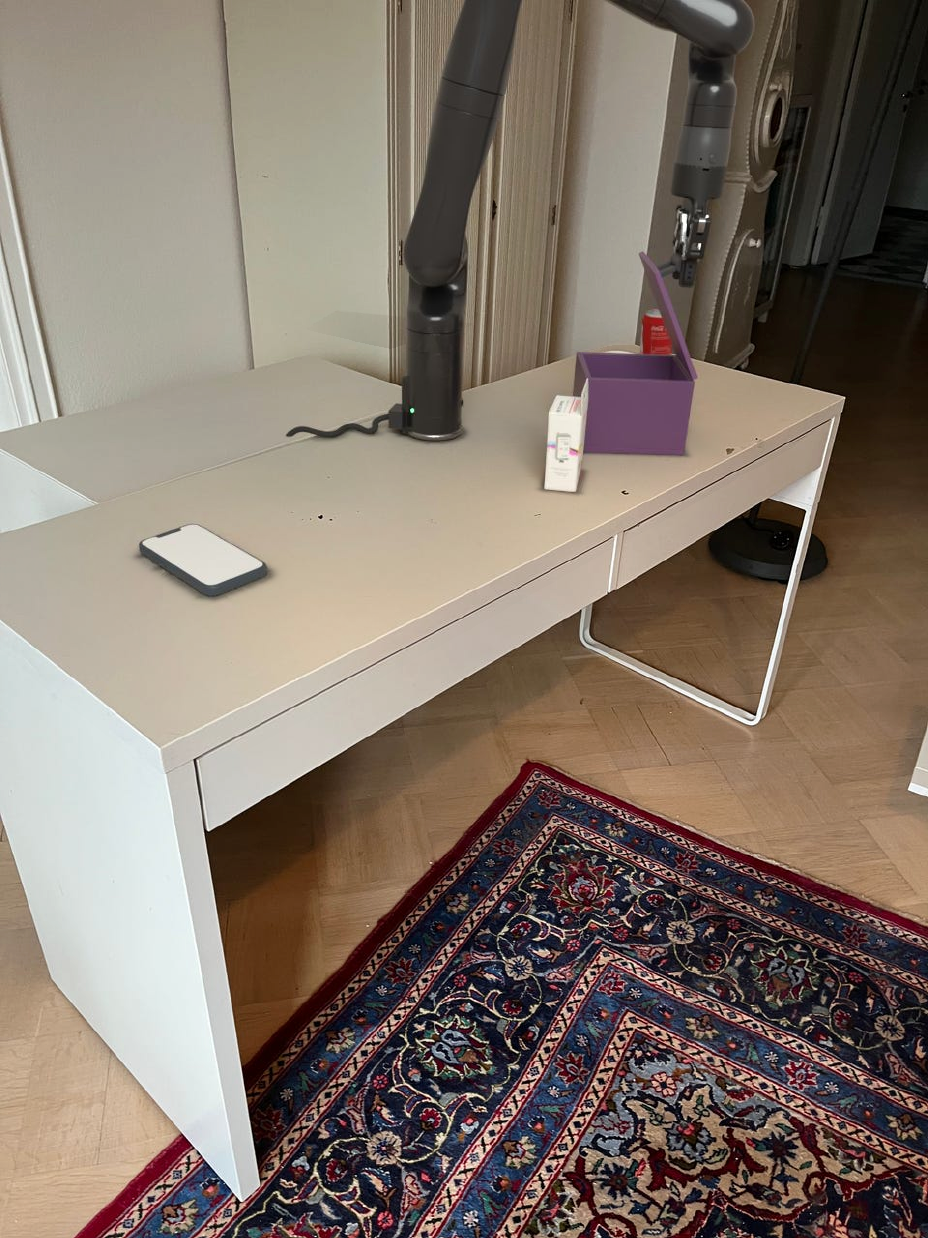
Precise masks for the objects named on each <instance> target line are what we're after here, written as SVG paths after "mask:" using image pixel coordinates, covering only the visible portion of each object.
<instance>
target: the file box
mask: <svg viewBox="0 0 928 1238" xmlns="http://www.w3.org/2000/svg"><path fill="white" fill-rule="evenodd" d="M575 357H576V358H575V367H574V378H573V389H572V391H573V392H572V397H581V393H582V391H583V388H584V385H585V382H586V380H587V378H588V407H587V417H586V427H585V437H584V447H583V453H595V454H596V453H598V454H628V455H629V454H631V455H633V454H634V455H662V456H663V455H665V456H684V455H685V449H686V445H687V436H688V431H689V424H690V418H691V411H692V410H691V409H692V405H693V397H694V393H695V392H694V391H695V386H696V385H695V384H696V382H695V380H693V379H692V378H691V376H690V375H689V373H688V372H687V370H686V369H685V367H684V366H683V364H682V363H681V361H680V360H679V358H678V357H677V355H676V354H671V355H660V354H639V353H621V352H592V351H591V352H590V351H589V352H587V351H576V356H575ZM584 398H585V396H584Z"/></svg>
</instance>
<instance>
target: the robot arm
mask: <svg viewBox="0 0 928 1238" xmlns="http://www.w3.org/2000/svg"><path fill="white" fill-rule="evenodd" d="M604 1H605V2H607V3H608V4H610V5H611V6H613V7H615V8H617V9H618V10H621V11H622V12H624V13H626V14H628V15H630V16H632V17H633V18H634V19H637V20H639V21H641V22H643V23H645V24H647V25H649V26H651V27H653V28H655V29H657V30H661V31H663V32H664V31H665V32H670V33H673V34H676V35H677V36H679V37H681V38H682V39H685V40H686V41H688V51H687V52H688V54H687V56H688V57H687V91H686V94H685V95H686V96H685V100H684V106H683V114H682V120H681V128H680V132H679V135H678V139H677V144H676V149H675V150H676V151H675V155H674V156H675V158H674V163H673V172H672V176H671V177H672V179H671V186H670V194H671V195H672V196H674V197H677V198H681V199H682V198H683V199H682V203H681V204H677V205H676V206H675V217H674V218H675V219H674V226H673V235H672V242H671V243H672V247H673V254H674V253H680V254H681V255H682V260H683V261H682V265H681V271H680V272H678V271H675V272H673V273H671V277H672V278H673V280H678V286H679V287H681V288H688V289H690V288H693V287H694V286H695V281H696V275H697V269H698V262H700V260H703V259H704V257H705V251H706V247H707V242H708V236H709V232H710V227H711V225H712V218H711V217H710V212H708V211H707V209H708V201H710V200H718V199H720V198H721V197H722V196H723V192H724V187H725V182H726V175H727V169H728V164H729V163H728V162H729V158H730V152H731V142H732V129H733V123H734V117H735V112H736V111H735V110H736V106H737V97H738V88H737V84H736V82H735V79H734V75H735V65H736V60H737V59H736V58H737V55H738V54H739V53H741V52H742V51H743V50H745V49H746V47H747V46H748V45H749V43H750V42H751V40H752V37H753V35H754V32H755V16H754V13H753V10H752V8H751V7H750V5H749V4H748V3H747V2H746V1H745V0H604ZM522 4H523V0H463V3H462V6H461V9H460V11H459V15H458V17H457V21H456V23H455V26H454V29H453V32H452V35H451V38H450V40H449V44H448V48H447V50H446V53H445V57H444V62H443V65H442V69H441V72H440V78H439V82H438V86H437V92H436V97H435V102H434V107H433V112H432V119H431V125H430V130H429V136H428V143H427V150H426V158H425V168H424V174H423V180H422V185H421V187H420V188H421V189H420V192H419V196H418V198H417V199H418V200H417V202H416V206H415V210H414V213H413V216H412V219H411V222H410V225H409V228H408V230H407V234H406V236H405V239H404V242H403V246H402V261H403V264H404V268H405V270H406V272H407V273H408V289H407V291H408V292H407V301H406V307H405V374H404V375H403V376H402V377H401V403H395V404H394V405H392V407H391V408H389V409H388V411H387V412H388V413H385V414H381V415H378V416H377V417H375V418H374V419H373V420H372V424H371V426H372V427H365V426H363V425H361V424H359V423H357V422H356V423H355V422H350V423H344V424H343V425H341V426H340V427H338V428H337V429H335V430H331V431H329V430H327V431H326V430H321V429H317V428H314V427H310V426H306V425H299V426H296V427H295V426H294V427H293V428H291V429H290V430H289V431H288V432H286V434H285V437H287V438H291V437H293V436H295V435H296V434H298V433H308V434H311V435H314V436H318V437H323V438H334V437H338V436H340V435H343V433H344V432H346V431H348V430H357V431H359V432H361V433H363V434H366V435H372V434H375V433H377V431H378V429H379V424H380V423H381V422H384V421H388V422H387V423H388V424H387V425H388V429H391V430H400V431H401V434H402V435H406V436H409V437H411V438H414V439H417V440H422V441H428V442H429V441H431V442H438V441H439V442H440V441H441V442H442V441H448V440H452V439H455V438H458V437H459V436H461V435H462V433H463V432H462V431H463V425H462V423H463V421H462V420H463V417H462V416H463V414H462V412H463V407H464V399H463V383H464V380H463V379H464V345H465V343H464V341H465V340H464V339H465V319H466V318H465V315H466V309H467V308H466V307H467V293H468V292H467V289H468V272H469V271H468V270H469V269H468V268H469V267H468V265H469V245H468V238H467V235H466V231H467V224H468V218H469V212H470V207H471V204H472V203H471V202H472V198H473V196H474V195H473V194H474V192H475V189H476V185H477V183H478V181H479V179H480V176H481V173H482V171H483V168H484V166H485V164H486V161H487V158H488V155H489V152H490V150H491V147H492V144H493V142H494V138H495V135H496V131H497V128H498V125H499V121H500V118H501V115H502V110H503V105H504V102H505V97H506V96H505V95H506V93H507V88H508V82H509V79H510V74H511V67H512V62H513V56H514V50H515V44H516V38H517V37H516V36H517V29H518V24H519V23H518V22H519V17H520V11H521V8H522ZM693 246H695V249H693Z"/></svg>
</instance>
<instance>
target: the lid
mask: <svg viewBox="0 0 928 1238" xmlns="http://www.w3.org/2000/svg"><path fill="white" fill-rule="evenodd" d="M638 256H639V260H640V262H641V265H642V267H643V270H644V273H645V275H646V278H647V281H648V284H649V287H650V289H651V292H652V294H653V297H654V300H655V303H656V306H657V309H659V311H660V314H661V317H662V319H663V322H664V325H665V328H666V330H667V333H668V336H669V339H670V341H671V344H672V347H671V348H672V349H673V352H674V355H677V357H678V358H679V360H680V361H681V363H682V364H683V366H684V367H685V369H686V370H687V372H688V373H689V375H690V376H691V378H692V379H693V380H694V381H695V380H697V379H698V374H697V372H696V369H695V365H694V363H693V360H692V358H691V357H692V356H691V355H690V351H689V348H688V346H687V343H686V341H685V338H684V335H683V333H682V330H681V327H680V324H679V321H678V318H677V316H676V312H675V311H674V307H673V304H672V302H671V299H670V296H669V294H668V290H667V288H666V285H665V282H664V279H663V278H664V277H666V276H668V275H669V276H670V275H672V273H673V272H675V271H678V272H680V271H681V265H682V261H683V260H682V255H681V254H680V253H674V252H673V254H671V256H670V257H669V260H667V261H665V262H663V263H661V264H659V265H657V266H656V265H655V263H653V261H652V260H651V259H650V257H648V255H647V254H646V253H645V252H644V251H641V252H638Z"/></svg>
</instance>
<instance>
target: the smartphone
mask: <svg viewBox="0 0 928 1238" xmlns="http://www.w3.org/2000/svg"><path fill="white" fill-rule="evenodd" d="M138 548H139V553H140V554H141V555H142V556H144V557H146V558H147V559H149V560H150V561H152V562H154V563H155V564H156V565H158V566H159V567H161V568H163V569H165V570H166V571H167V572H169V573H170V574H172V575H174V576H175V577H177V578H178V579H180V580H182V581H183V582H184V583H186V584H188V585H189V586H190V587H192V588H194V589H195V590H196V591H199V592H200V593H202V594H203V595H204V596H208V597H215V596H216V597H217V596H219V595H223V594H225V593H227V592H229V591H232V590H235V589H237V588H239V587H242V586H244V585H247V584H249V583H252V582H254V581H257V580H260V579H261V578H264V577H266V576H267V573H268V570H267V569H268V568H267V564H266V562H264V561H262V560H261V559H260V558H258V557H256V556H254V555H253V554H250V553H249V552H247V551H245V550H243V549H242V548H240V547H239V546H237V545H235V544H233V543H231V542H230V541H228V540H226V539H225V538H223V537H221V536H219V535H218V534H216V533H214V532H212V531H211V530H209V529H207V528H205V526H203V525H200V524H198V523H189V524H188V523H187V524H186V525H182V526H179V527H176V528H173V529H171V530H168V531H165V532H162V533H159V534H156V535H153V536H150V537H147V538H144V539H142V540H141V541H140V542H139V543H138Z"/></svg>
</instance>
